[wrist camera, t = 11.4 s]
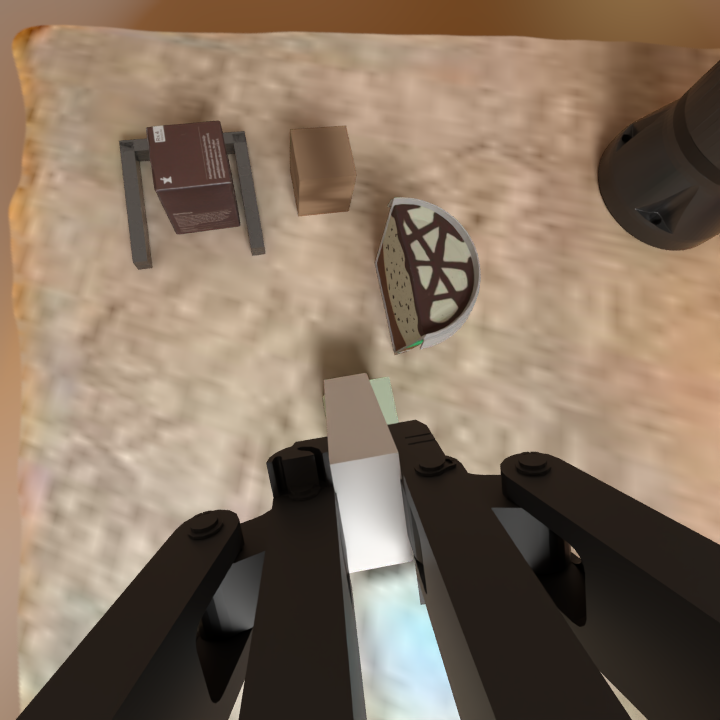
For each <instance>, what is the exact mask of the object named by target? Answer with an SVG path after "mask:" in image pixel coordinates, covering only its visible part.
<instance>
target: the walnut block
mask: <svg viewBox="0 0 720 720" xmlns="http://www.w3.org/2000/svg"><path fill="white" fill-rule="evenodd" d="M290 172H291V178H292V183H293V188H294V194H295V199H296V205H297V210H298V216H307V215H317V214H327V213H336V212H346V211H349V207H350V203H351V198H352V194H353V189H354V185H355V180H356V176H357V175H356V170H355V165H354V161H353V156H352V151H351V147H350V142H349V137H348V133H347V128H346V126H334V127H320V128H306V129H292V130H290Z"/></svg>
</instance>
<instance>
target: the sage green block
mask: <svg viewBox="0 0 720 720" xmlns="http://www.w3.org/2000/svg"><path fill="white" fill-rule="evenodd" d="M369 381H370V383H371V386H372V388H373V391H374V393H375V396H376V398H377V401H378V403H379V406H380V408H381V411H382V413H383V416H384V418H385V421H386V423H387V425H389V424H394V423H399V422H398V417H397V412H396V407H395V403H394V398H393V393H392V388H391V384H390V379H389V377H384V378H378V379H372V380H369ZM322 399H323V405H324V410H325V416H326V406H325V393H324V396H323V398H322ZM326 421H327V420H326Z"/></svg>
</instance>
